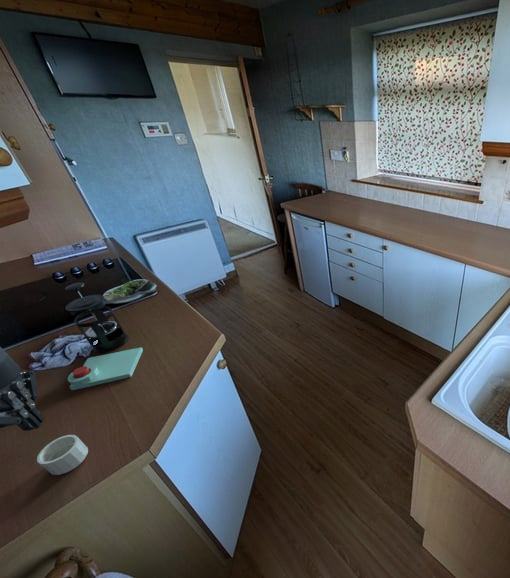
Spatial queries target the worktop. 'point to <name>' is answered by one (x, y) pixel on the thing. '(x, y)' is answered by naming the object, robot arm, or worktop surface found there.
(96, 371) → the scale
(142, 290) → the salad plate
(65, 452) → the bowl
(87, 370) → the tare button
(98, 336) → the french press
